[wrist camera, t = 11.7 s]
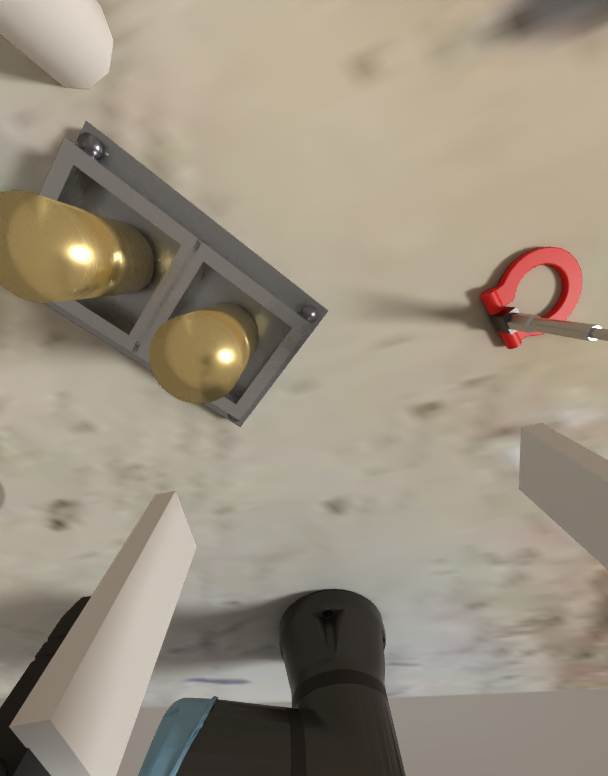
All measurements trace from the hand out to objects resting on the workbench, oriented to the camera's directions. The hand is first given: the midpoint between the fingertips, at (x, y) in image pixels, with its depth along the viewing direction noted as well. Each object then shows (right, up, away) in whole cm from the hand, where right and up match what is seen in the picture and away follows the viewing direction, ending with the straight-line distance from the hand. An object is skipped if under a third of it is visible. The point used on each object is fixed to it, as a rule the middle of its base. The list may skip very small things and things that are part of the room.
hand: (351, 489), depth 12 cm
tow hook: (+21, +13, +20) cm, 32 cm away
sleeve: (-9, +9, +18) cm, 22 cm away
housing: (-14, +13, +19) cm, 27 cm away
